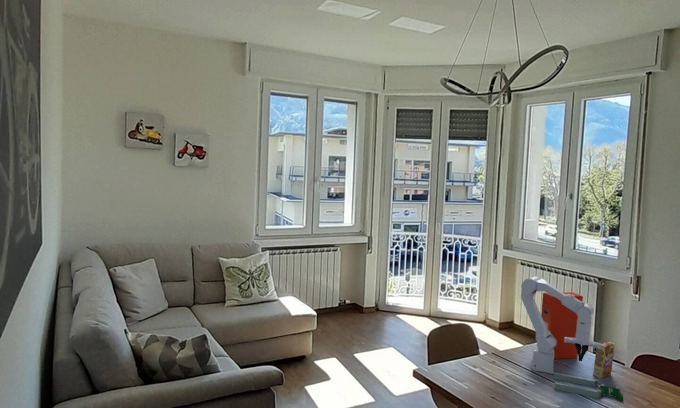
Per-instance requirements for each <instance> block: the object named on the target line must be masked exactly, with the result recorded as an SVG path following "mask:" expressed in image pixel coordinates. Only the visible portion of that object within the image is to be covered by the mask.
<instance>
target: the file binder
mask: <svg viewBox="0 0 680 408" xmlns="http://www.w3.org/2000/svg"><path fill="white" fill-rule="evenodd" d="M562 293H563V294H565V295H567V294H570V295H574V296H575V298H576V299H578V300H580V301H581V302H582V301H583V302H584V296H583V295H581V294H579V293H575V292H571V291H570V292H562ZM541 300H542V301H541V303H542V304H541V311H540V314H541V316H542V319H543V321H544V323H545V326H546V328H547V330H549V331H550V332H551V334H552V336H553V337H554V338H555V339H556V341H557V344H556V346H555V347H554V351H555V352H554V360H556V359H557V360H558V359H577V358H578V352H577V349H576V347H575V344H574V343H568V342H567V343H566V342H564V338H565V337H569V338H575V337H576V328H577V320H578V316H577V313H575V312H573V311H572V310H570V309H569V308H567V307H566V306H564V305H562V302H561V300H559V299H557V298H556V297H554V296H552V295H550V294H549V293H547V292H543V293H542V299H541Z"/></svg>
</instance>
